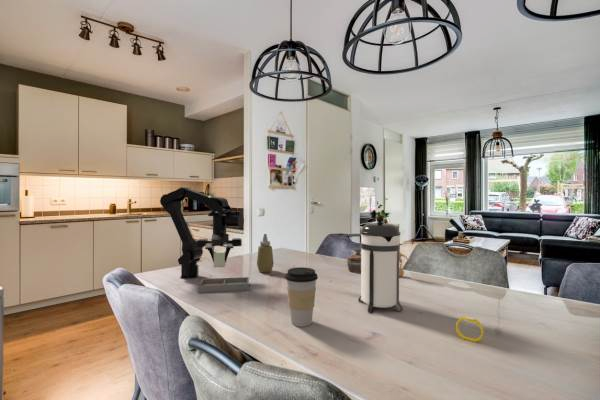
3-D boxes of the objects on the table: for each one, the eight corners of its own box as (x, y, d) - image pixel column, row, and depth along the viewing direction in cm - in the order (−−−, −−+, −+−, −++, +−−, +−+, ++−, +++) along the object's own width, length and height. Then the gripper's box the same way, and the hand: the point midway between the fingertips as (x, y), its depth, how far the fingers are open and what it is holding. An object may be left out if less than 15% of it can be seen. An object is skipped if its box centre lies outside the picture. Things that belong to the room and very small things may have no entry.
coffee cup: (307, 332, 80) (307, 276, 80) (278, 324, 85) (278, 271, 85) (323, 320, 88) (323, 269, 88) (296, 313, 93) (296, 265, 93)
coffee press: (412, 305, 101) (413, 215, 100) (390, 319, 89) (390, 218, 88) (366, 293, 112) (367, 213, 112) (341, 304, 101) (342, 215, 100)
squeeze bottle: (272, 273, 140) (272, 235, 140) (255, 273, 140) (255, 235, 140) (274, 269, 148) (274, 232, 148) (258, 269, 148) (258, 232, 148)
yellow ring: (482, 341, 76) (484, 319, 76) (481, 346, 74) (483, 322, 74) (456, 333, 80) (458, 311, 79) (454, 337, 78) (456, 315, 77)
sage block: (213, 267, 129) (213, 253, 129) (215, 264, 133) (215, 251, 133) (224, 266, 129) (224, 253, 129) (225, 264, 134) (225, 251, 134)
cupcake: (344, 268, 150) (344, 248, 149) (363, 268, 151) (363, 248, 150) (350, 273, 140) (350, 252, 140) (370, 273, 141) (370, 252, 141)
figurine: (409, 276, 136) (409, 249, 135) (408, 279, 130) (408, 252, 130) (389, 274, 139) (390, 248, 139) (388, 277, 133) (388, 250, 133)
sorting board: (198, 292, 113) (198, 285, 113) (202, 285, 123) (202, 278, 122) (247, 290, 116) (247, 283, 116) (248, 283, 125) (248, 277, 125)
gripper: (193, 229, 122) (193, 267, 122) (240, 228, 124) (240, 266, 125) (198, 226, 133) (199, 261, 133) (241, 225, 135) (241, 260, 136)
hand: (219, 262), depth 131 cm, fingers closed on sage block, 4 cm apart
